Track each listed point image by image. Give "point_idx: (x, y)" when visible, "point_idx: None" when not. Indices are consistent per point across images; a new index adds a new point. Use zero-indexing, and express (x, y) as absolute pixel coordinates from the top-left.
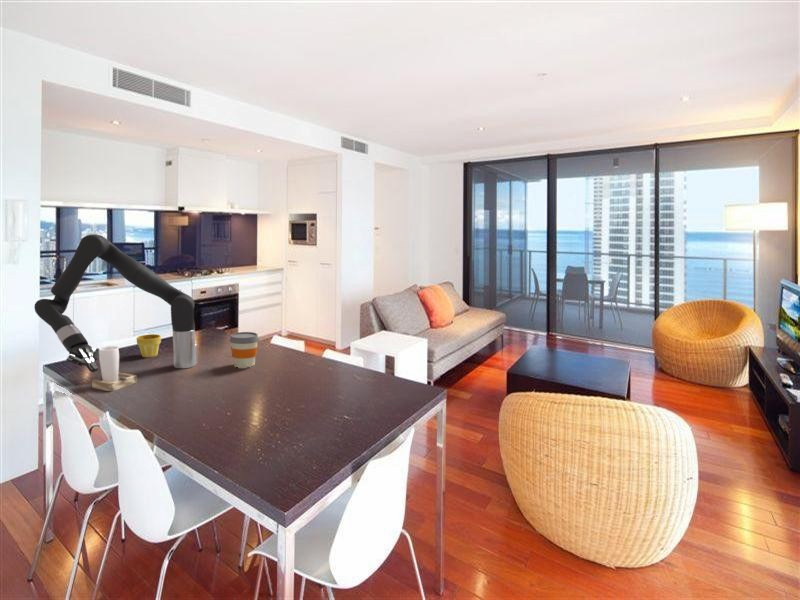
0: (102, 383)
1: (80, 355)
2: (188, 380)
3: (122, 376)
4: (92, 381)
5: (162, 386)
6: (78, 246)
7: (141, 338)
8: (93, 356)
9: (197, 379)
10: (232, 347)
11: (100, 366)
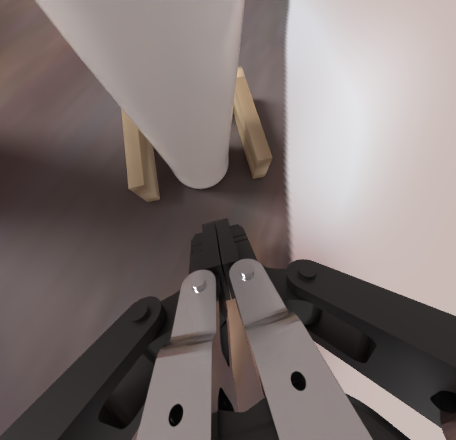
0: (253, 107)
1: (380, 431)
2: (46, 34)
3: (146, 154)
4: (270, 157)
5: None
6: None
7: None
8: (119, 428)
9: (27, 25)
10: None
11: (235, 86)
